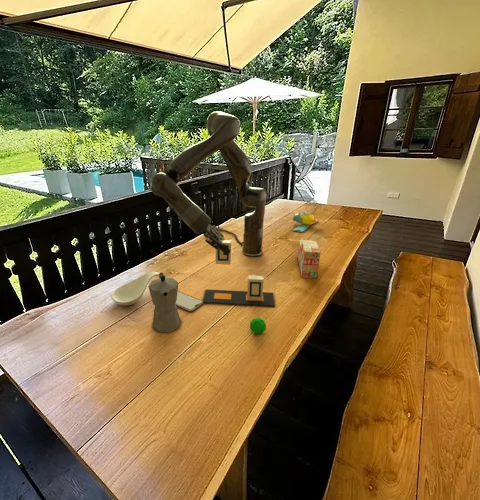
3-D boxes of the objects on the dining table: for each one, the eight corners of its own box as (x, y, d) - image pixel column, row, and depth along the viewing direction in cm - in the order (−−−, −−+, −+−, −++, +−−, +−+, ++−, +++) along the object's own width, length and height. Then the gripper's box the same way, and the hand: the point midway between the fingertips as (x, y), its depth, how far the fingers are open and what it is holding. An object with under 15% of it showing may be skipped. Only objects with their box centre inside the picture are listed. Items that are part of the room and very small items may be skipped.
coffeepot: (183, 334, 95) (180, 283, 88) (153, 338, 93) (148, 288, 86) (177, 307, 108) (174, 262, 101) (150, 311, 107) (146, 265, 100)
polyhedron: (254, 325, 98) (255, 312, 96) (268, 331, 95) (269, 318, 93) (246, 332, 94) (247, 320, 93) (260, 339, 91) (261, 326, 90)
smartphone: (173, 289, 119) (203, 301, 110) (174, 291, 119) (203, 302, 111) (160, 297, 113) (191, 310, 105) (160, 299, 114) (191, 312, 105)
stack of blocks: (297, 257, 147) (299, 233, 142) (310, 258, 146) (313, 234, 141) (301, 277, 127) (304, 251, 123) (316, 278, 126) (320, 251, 121)
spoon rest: (125, 314, 105) (122, 296, 102) (106, 302, 112) (103, 285, 110) (173, 287, 122) (172, 271, 119) (154, 279, 129) (153, 264, 126)
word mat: (202, 303, 111) (202, 301, 110) (205, 290, 119) (205, 289, 119) (274, 306, 107) (274, 305, 107) (272, 293, 116) (272, 292, 115)
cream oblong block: (216, 260, 113) (216, 239, 110) (230, 261, 112) (231, 240, 109) (215, 264, 110) (215, 242, 107) (230, 264, 110) (230, 243, 106)
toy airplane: (309, 219, 174) (285, 216, 183) (308, 233, 177) (284, 229, 186) (325, 209, 194) (302, 206, 203) (324, 222, 197) (301, 218, 206)
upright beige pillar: (247, 295, 114) (248, 275, 111) (261, 295, 113) (263, 275, 110) (247, 299, 111) (248, 279, 108) (262, 300, 110) (263, 280, 107)
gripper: (199, 216, 98) (235, 252, 101) (205, 206, 111) (237, 237, 114) (184, 231, 101) (220, 265, 104) (191, 219, 114) (223, 250, 117)
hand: (228, 251), depth 109 cm, fingers closed on cream oblong block, 3 cm apart
